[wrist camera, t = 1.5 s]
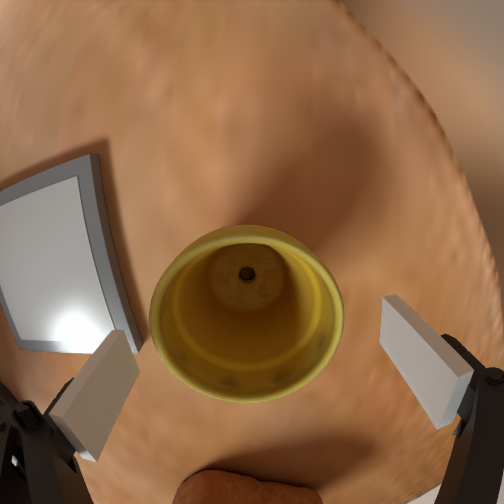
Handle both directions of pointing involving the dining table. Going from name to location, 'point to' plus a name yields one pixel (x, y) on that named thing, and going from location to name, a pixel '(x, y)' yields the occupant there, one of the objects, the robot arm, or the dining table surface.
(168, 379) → the dining table surface
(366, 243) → the dining table surface
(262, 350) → the plant pot
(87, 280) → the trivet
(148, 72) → the dining table surface
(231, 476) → the bread
